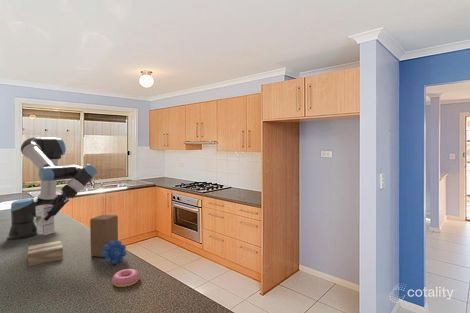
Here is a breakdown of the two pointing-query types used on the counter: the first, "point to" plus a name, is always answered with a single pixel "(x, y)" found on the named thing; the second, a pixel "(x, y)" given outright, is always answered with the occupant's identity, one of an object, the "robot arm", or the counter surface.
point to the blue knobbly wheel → (114, 252)
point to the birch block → (45, 252)
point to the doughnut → (125, 277)
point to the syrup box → (49, 225)
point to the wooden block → (103, 232)
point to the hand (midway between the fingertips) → (37, 224)
